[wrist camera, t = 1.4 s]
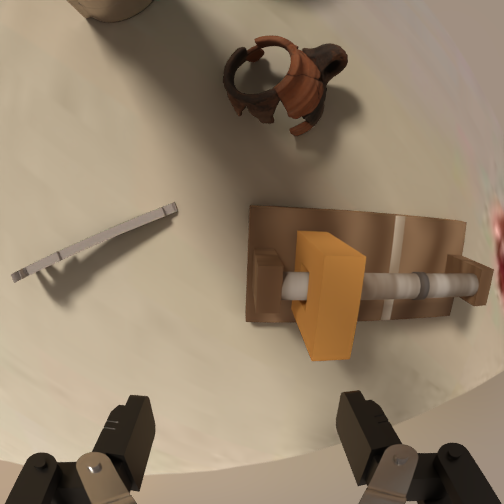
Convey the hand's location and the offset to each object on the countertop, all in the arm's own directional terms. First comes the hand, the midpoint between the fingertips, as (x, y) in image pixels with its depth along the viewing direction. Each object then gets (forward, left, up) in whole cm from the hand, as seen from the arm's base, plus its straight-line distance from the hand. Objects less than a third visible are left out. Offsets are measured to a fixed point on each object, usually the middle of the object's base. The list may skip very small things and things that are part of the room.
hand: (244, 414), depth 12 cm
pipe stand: (+14, +1, -22) cm, 26 cm away
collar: (+7, +1, -20) cm, 21 cm away
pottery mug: (+4, +19, -23) cm, 30 cm away
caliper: (-16, +3, -23) cm, 28 cm away
